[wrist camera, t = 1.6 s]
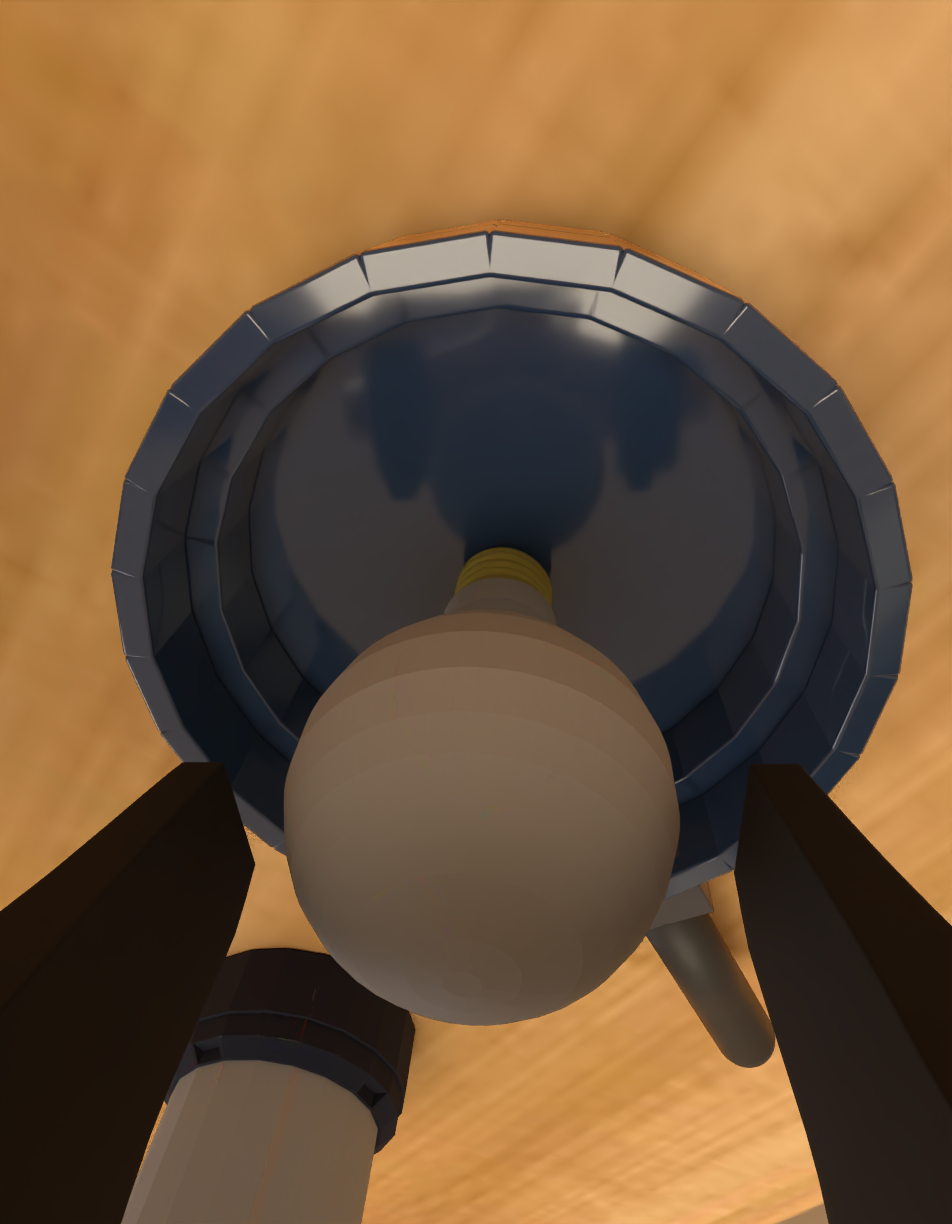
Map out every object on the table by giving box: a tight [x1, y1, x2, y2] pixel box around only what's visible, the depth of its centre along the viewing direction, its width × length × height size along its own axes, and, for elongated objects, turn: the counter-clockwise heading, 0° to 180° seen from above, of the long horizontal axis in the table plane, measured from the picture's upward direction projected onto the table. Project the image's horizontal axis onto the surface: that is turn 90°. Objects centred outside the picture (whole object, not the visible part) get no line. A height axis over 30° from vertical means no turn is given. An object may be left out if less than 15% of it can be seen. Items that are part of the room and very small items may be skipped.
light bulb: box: [284, 547, 680, 1026], centre depth 13 cm, size 6×5×10 cm
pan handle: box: [646, 846, 775, 1068], centre depth 19 cm, size 9×2×2 cm, turn 29°
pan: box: [111, 220, 912, 901], centre depth 15 cm, size 14×14×4 cm
